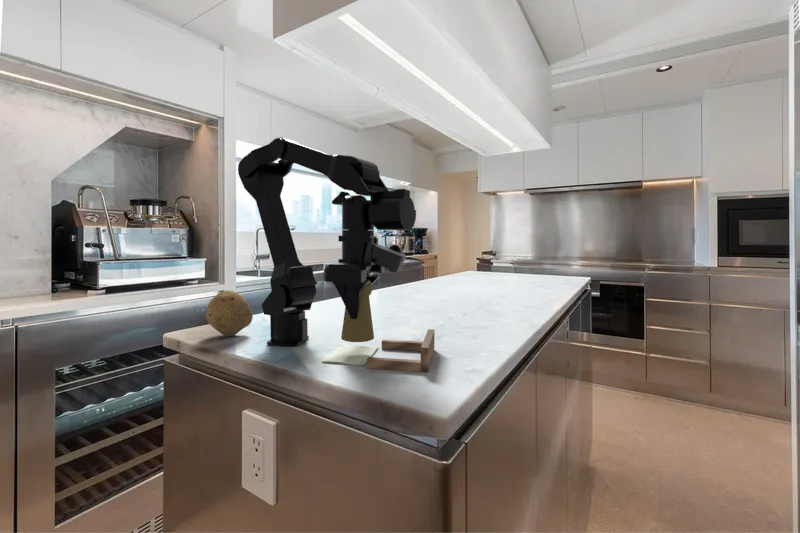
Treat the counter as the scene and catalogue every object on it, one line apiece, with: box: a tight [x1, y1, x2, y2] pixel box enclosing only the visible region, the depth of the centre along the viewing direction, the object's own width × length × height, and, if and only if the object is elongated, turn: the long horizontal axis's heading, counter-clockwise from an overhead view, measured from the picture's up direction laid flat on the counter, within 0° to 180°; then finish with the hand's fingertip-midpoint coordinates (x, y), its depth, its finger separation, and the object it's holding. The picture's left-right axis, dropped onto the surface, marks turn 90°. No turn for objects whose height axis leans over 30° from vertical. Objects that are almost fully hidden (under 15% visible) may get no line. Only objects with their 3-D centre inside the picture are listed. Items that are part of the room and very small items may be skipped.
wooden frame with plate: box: [321, 328, 436, 373], centre depth 69 cm, size 18×12×4 cm
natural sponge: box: [205, 290, 254, 337], centre depth 83 cm, size 9×9×10 cm
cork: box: [340, 279, 375, 343], centre depth 69 cm, size 6×6×11 cm
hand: (357, 316), depth 69 cm, fingers closed on cork, 4 cm apart
